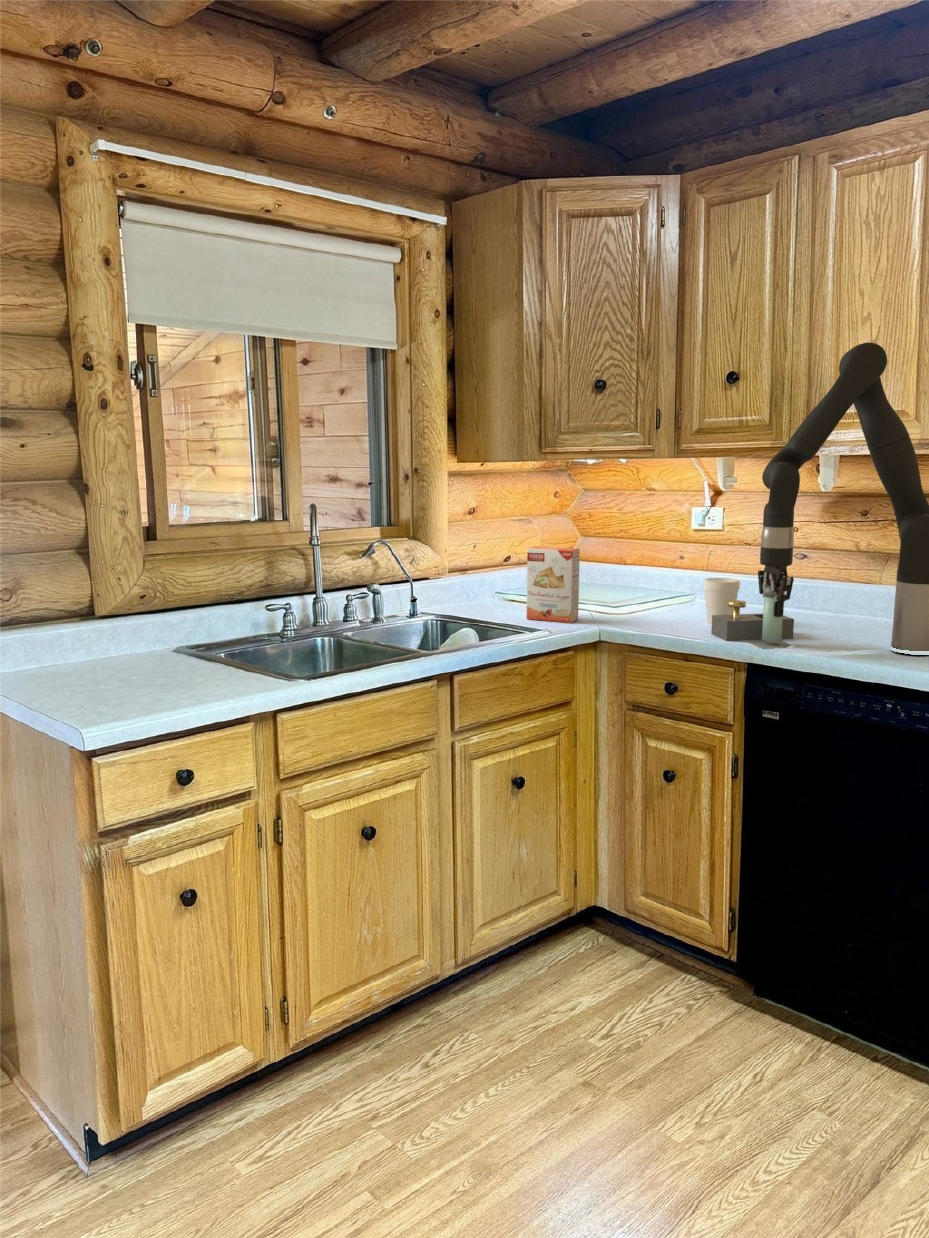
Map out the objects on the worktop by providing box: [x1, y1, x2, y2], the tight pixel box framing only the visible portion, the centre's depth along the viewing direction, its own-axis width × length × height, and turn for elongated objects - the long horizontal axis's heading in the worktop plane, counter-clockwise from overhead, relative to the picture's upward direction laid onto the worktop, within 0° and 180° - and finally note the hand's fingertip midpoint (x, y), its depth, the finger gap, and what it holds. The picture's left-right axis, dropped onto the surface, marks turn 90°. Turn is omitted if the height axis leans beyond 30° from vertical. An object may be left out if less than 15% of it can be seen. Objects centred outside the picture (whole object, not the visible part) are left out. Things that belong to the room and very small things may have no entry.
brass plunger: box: [728, 599, 747, 619], centre depth 245 cm, size 4×4×9 cm
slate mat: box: [745, 640, 792, 650], centre depth 236 cm, size 9×9×1 cm
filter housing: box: [710, 613, 795, 642], centre depth 246 cm, size 18×9×6 cm, turn 100°
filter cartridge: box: [761, 586, 783, 642], centre depth 235 cm, size 5×5×13 cm
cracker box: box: [526, 545, 581, 624], centre depth 273 cm, size 14×6×21 cm, turn 62°
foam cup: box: [703, 577, 741, 625], centre depth 264 cm, size 10×9×13 cm
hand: (773, 614), depth 235 cm, fingers closed on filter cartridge, 4 cm apart
